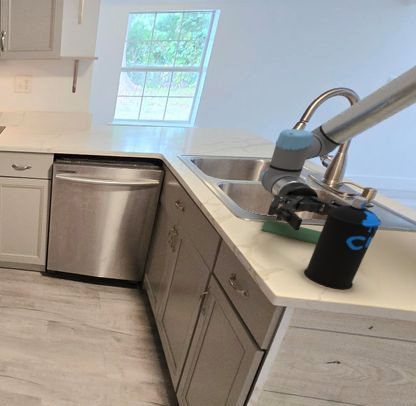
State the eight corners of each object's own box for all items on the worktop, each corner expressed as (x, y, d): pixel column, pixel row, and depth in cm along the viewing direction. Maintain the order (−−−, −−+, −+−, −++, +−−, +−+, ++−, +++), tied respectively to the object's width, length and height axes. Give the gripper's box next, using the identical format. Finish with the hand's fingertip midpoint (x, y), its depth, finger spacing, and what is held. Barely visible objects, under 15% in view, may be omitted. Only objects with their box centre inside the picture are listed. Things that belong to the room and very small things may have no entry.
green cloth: (327, 235, 101) (328, 233, 101) (325, 246, 96) (326, 244, 96) (265, 220, 110) (266, 218, 110) (261, 230, 105) (261, 228, 105)
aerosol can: (295, 273, 86) (325, 194, 78) (317, 265, 88) (348, 188, 80) (338, 293, 78) (375, 209, 71) (360, 284, 81) (399, 202, 73)
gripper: (345, 211, 98) (399, 250, 80) (238, 202, 106) (264, 236, 88) (356, 186, 95) (414, 220, 77) (245, 178, 103) (274, 207, 85)
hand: (335, 228), depth 82 cm, fingers open, 13 cm apart
